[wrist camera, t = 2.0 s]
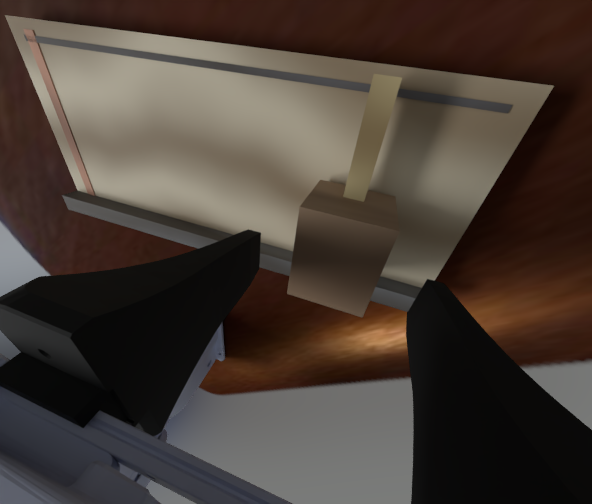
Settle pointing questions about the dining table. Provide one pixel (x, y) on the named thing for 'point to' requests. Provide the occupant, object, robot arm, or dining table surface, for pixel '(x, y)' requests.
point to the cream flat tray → (266, 139)
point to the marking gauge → (348, 221)
